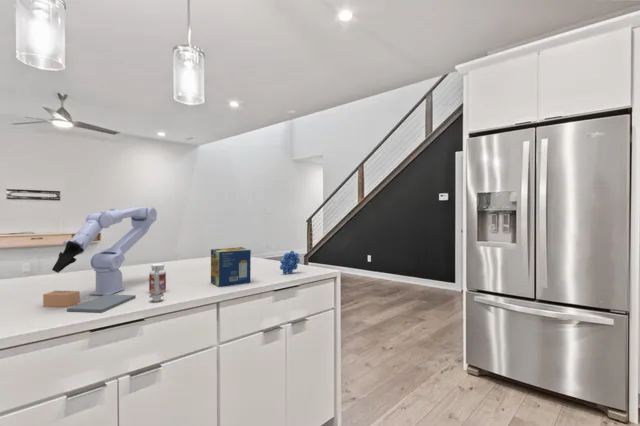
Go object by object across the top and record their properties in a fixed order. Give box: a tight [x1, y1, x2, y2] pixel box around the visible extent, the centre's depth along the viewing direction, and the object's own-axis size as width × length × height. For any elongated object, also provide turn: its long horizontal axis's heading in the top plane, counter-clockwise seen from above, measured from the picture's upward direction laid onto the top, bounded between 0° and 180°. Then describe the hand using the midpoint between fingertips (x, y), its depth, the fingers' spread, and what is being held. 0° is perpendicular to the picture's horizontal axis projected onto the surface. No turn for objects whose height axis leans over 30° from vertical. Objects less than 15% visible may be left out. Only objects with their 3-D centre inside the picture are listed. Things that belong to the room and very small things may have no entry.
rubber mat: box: [66, 294, 137, 314], centre depth 120 cm, size 18×12×1 cm, turn 176°
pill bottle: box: [148, 263, 167, 294], centre depth 138 cm, size 6×6×11 cm
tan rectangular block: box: [42, 290, 81, 308], centre depth 118 cm, size 5×9×4 cm, turn 87°
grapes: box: [279, 250, 301, 275], centre depth 178 cm, size 12×7×12 cm, turn 124°
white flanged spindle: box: [149, 266, 165, 303], centre depth 124 cm, size 13×5×5 cm
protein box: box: [210, 246, 252, 288], centre depth 155 cm, size 10×15×16 cm
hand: (58, 267), depth 115 cm, fingers open, 7 cm apart
